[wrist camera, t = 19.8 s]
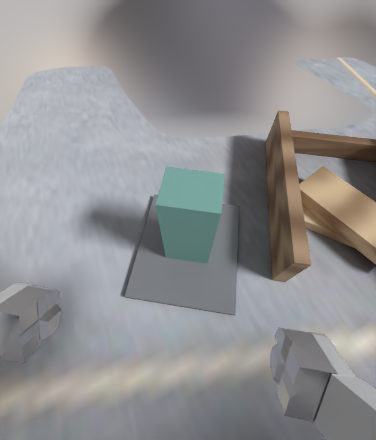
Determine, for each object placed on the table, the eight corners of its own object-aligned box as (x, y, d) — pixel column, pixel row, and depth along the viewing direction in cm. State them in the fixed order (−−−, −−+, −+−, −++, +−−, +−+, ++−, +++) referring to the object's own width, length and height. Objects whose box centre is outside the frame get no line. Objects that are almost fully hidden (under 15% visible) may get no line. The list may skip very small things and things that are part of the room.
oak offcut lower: (393, 230, 30) (405, 223, 28) (391, 267, 27) (405, 262, 25) (292, 192, 33) (298, 183, 31) (282, 221, 30) (288, 214, 29)
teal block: (210, 233, 28) (224, 173, 18) (207, 263, 25) (221, 213, 16) (172, 228, 28) (166, 166, 18) (165, 257, 26) (155, 204, 16)
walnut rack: (449, 307, 24) (522, 295, 19) (271, 280, 25) (294, 262, 20) (382, 156, 36) (415, 124, 31) (265, 143, 37) (278, 110, 32)
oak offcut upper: (411, 244, 27) (427, 237, 25) (387, 274, 25) (402, 268, 23) (315, 175, 32) (323, 166, 30) (289, 195, 30) (296, 186, 28)
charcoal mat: (238, 208, 30) (239, 206, 30) (234, 315, 23) (235, 314, 23) (154, 197, 31) (154, 194, 31) (125, 297, 24) (124, 296, 23)
